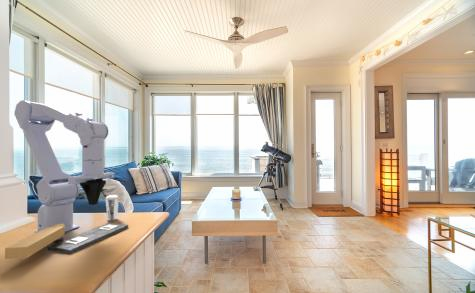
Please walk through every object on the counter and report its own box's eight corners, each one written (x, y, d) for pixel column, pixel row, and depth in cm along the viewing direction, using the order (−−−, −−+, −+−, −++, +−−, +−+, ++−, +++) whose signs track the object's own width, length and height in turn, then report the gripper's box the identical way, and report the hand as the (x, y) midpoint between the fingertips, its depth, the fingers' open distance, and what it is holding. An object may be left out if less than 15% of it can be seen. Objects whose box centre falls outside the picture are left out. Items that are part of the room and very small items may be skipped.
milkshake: (115, 221, 84) (115, 194, 84) (102, 221, 85) (102, 193, 86) (123, 218, 89) (123, 191, 89) (111, 217, 90) (111, 191, 90)
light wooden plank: (53, 232, 68) (53, 224, 68) (69, 231, 69) (69, 223, 69) (4, 259, 52) (4, 248, 52) (27, 257, 52) (27, 246, 52)
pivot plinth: (50, 242, 66) (50, 236, 66) (59, 239, 68) (59, 233, 68) (56, 243, 65) (56, 237, 65) (65, 240, 68) (65, 234, 68)
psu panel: (47, 250, 61) (47, 245, 61) (108, 225, 80) (108, 221, 80) (70, 253, 59) (70, 248, 59) (128, 227, 78) (128, 223, 78)
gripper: (81, 161, 64) (81, 211, 64) (121, 159, 78) (121, 199, 78) (62, 161, 66) (62, 209, 66) (104, 159, 80) (104, 198, 80)
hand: (93, 204), depth 72 cm, fingers closed
